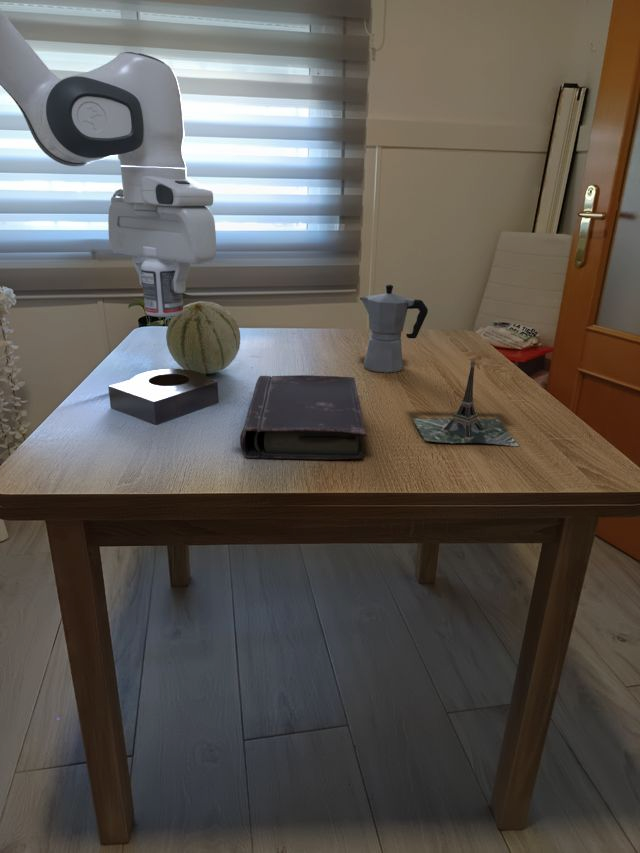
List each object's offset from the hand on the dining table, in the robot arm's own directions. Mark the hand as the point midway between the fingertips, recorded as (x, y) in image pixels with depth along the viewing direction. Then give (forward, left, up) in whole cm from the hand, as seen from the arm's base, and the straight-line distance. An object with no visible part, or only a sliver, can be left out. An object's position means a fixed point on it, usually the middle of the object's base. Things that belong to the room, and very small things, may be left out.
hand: (162, 289), depth 86 cm
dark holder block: (+5, +7, -21) cm, 23 cm away
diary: (+12, -19, -22) cm, 31 cm away
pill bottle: (0, 0, -4) cm, 4 cm away
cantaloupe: (+22, +15, -22) cm, 34 cm away
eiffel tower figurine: (+27, -40, -22) cm, 53 cm away
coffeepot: (+51, -12, -22) cm, 56 cm away
